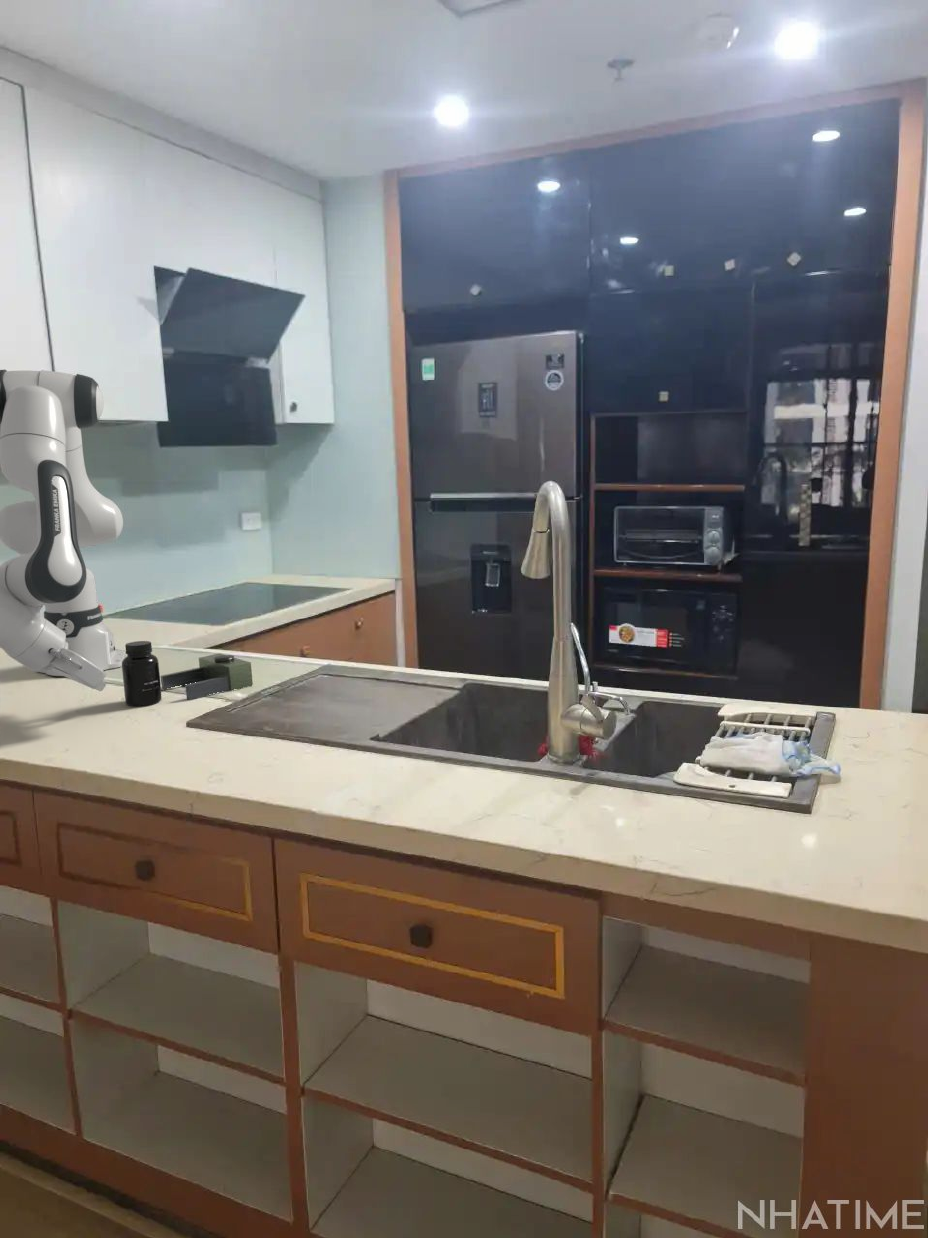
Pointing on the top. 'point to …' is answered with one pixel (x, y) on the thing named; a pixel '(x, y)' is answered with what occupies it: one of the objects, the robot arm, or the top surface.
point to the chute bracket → (211, 676)
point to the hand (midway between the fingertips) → (101, 686)
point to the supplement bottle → (141, 675)
